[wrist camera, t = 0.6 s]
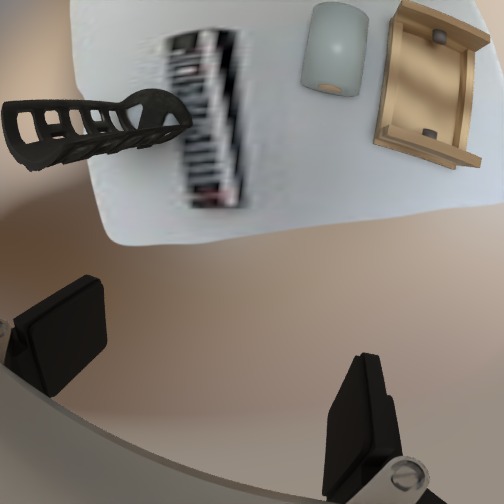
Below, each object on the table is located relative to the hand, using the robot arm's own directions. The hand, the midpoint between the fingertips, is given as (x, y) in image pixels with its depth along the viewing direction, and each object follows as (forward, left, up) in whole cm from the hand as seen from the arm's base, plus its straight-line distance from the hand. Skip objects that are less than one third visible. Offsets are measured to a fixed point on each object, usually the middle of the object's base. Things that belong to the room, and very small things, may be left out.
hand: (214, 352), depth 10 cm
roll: (-19, +1, -27) cm, 33 cm away
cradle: (-18, +12, -26) cm, 34 cm away
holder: (-8, -19, -27) cm, 33 cm away
